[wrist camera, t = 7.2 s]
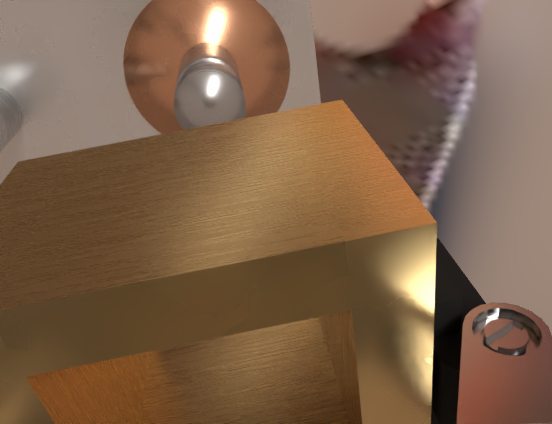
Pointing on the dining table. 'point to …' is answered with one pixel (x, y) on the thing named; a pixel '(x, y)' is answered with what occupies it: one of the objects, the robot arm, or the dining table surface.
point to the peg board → (145, 69)
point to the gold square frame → (218, 279)
